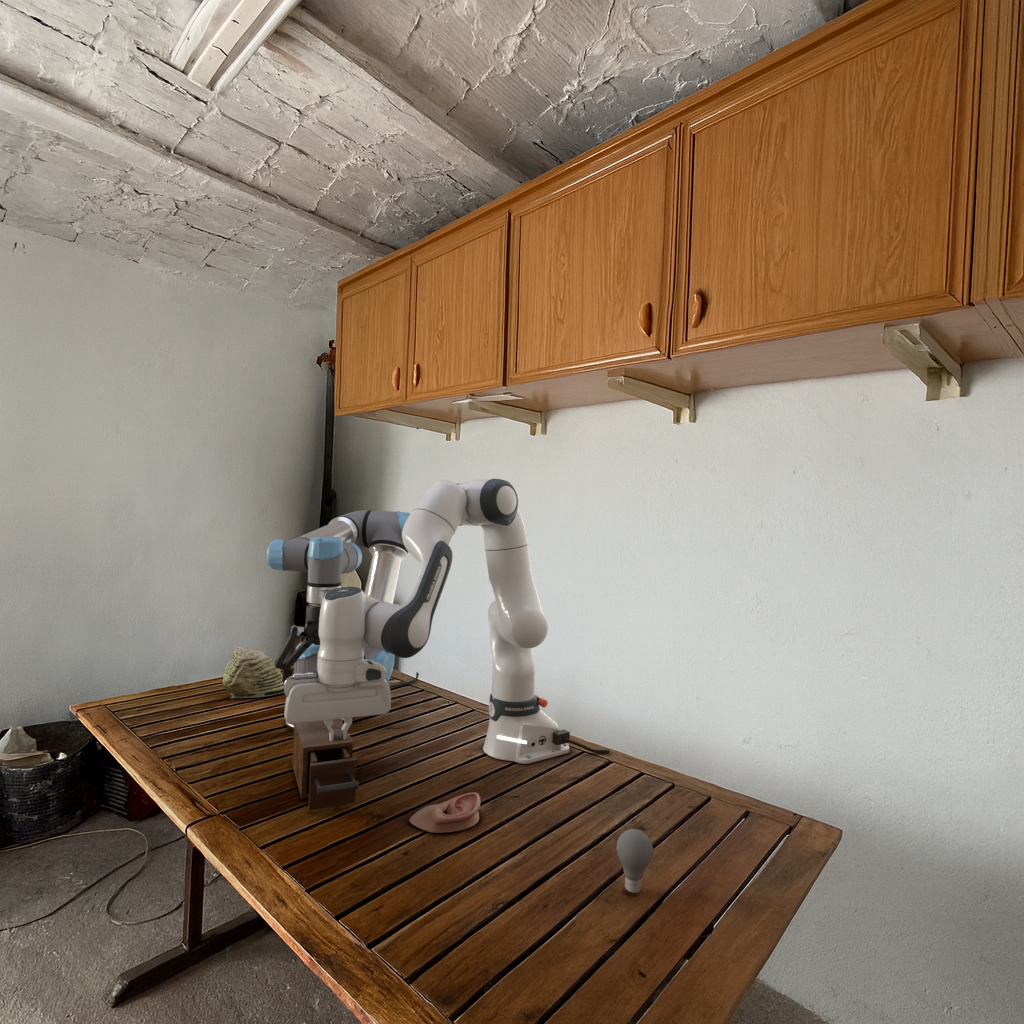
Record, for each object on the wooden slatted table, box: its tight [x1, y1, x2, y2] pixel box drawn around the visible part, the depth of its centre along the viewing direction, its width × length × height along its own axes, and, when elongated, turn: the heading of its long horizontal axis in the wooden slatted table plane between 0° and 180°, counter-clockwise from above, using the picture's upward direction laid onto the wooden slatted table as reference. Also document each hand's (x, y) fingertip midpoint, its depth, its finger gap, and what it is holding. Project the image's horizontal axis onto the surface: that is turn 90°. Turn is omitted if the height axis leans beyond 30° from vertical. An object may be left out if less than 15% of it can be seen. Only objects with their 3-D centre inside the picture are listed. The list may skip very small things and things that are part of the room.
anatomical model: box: [409, 791, 481, 834], centre depth 126 cm, size 13×4×12 cm
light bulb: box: [615, 828, 654, 894], centre depth 106 cm, size 6×6×10 cm
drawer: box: [307, 747, 360, 811], centre depth 133 cm, size 22×9×9 cm, turn 25°
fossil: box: [222, 646, 284, 699], centre depth 198 cm, size 9×18×15 cm, turn 132°
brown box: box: [291, 719, 354, 800], centre depth 142 cm, size 18×10×11 cm, turn 25°
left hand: (320, 695), depth 147 cm, fingers open, 13 cm apart
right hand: (337, 739), depth 125 cm, fingers closed
